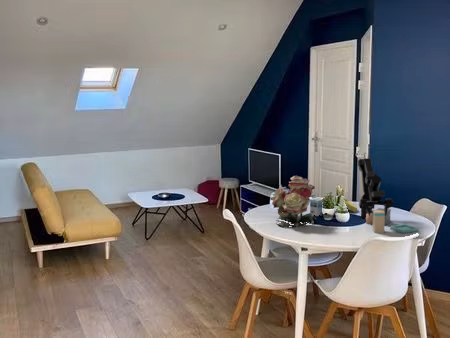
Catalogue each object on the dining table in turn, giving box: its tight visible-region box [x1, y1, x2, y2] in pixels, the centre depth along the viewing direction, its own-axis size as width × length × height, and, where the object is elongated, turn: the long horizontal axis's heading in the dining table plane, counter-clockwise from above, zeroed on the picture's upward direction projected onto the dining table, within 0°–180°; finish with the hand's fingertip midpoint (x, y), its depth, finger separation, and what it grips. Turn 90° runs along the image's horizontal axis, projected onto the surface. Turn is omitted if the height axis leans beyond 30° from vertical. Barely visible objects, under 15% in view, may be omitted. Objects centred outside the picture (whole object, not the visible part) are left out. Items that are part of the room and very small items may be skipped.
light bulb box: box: [309, 196, 324, 217], centre depth 335 cm, size 11×7×11 cm, turn 131°
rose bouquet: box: [269, 175, 317, 228], centre depth 312 cm, size 26×29×30 cm
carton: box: [371, 209, 385, 234], centre depth 290 cm, size 6×6×12 cm
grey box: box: [375, 207, 392, 226], centre depth 309 cm, size 8×9×8 cm
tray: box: [389, 223, 420, 234], centre depth 292 cm, size 11×11×2 cm
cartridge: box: [365, 213, 373, 225], centre depth 309 cm, size 4×4×6 cm
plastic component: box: [344, 198, 358, 213], centre depth 349 cm, size 20×7×10 cm
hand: (377, 215), depth 291 cm, fingers open, 9 cm apart
